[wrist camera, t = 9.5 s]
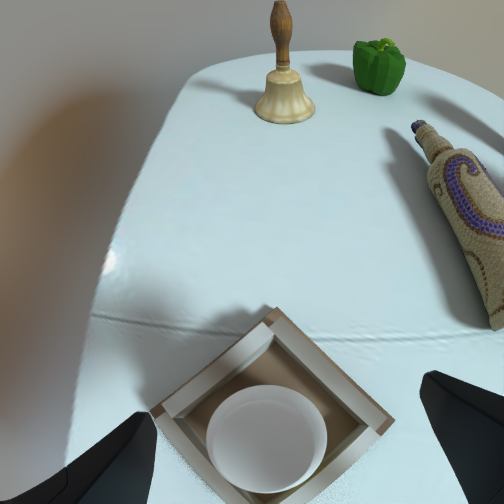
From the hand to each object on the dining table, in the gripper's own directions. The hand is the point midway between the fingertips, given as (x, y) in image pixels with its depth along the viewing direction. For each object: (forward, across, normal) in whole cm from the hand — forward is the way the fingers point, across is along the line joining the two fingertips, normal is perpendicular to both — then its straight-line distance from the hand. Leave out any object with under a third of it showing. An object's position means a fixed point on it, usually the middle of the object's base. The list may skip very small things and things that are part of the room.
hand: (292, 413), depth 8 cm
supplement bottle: (+8, +1, +10) cm, 13 cm away
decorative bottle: (+19, -23, -1) cm, 30 cm away
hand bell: (+34, -6, -17) cm, 39 cm away
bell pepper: (+38, -22, -21) cm, 48 cm away
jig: (+9, +1, +10) cm, 13 cm away
